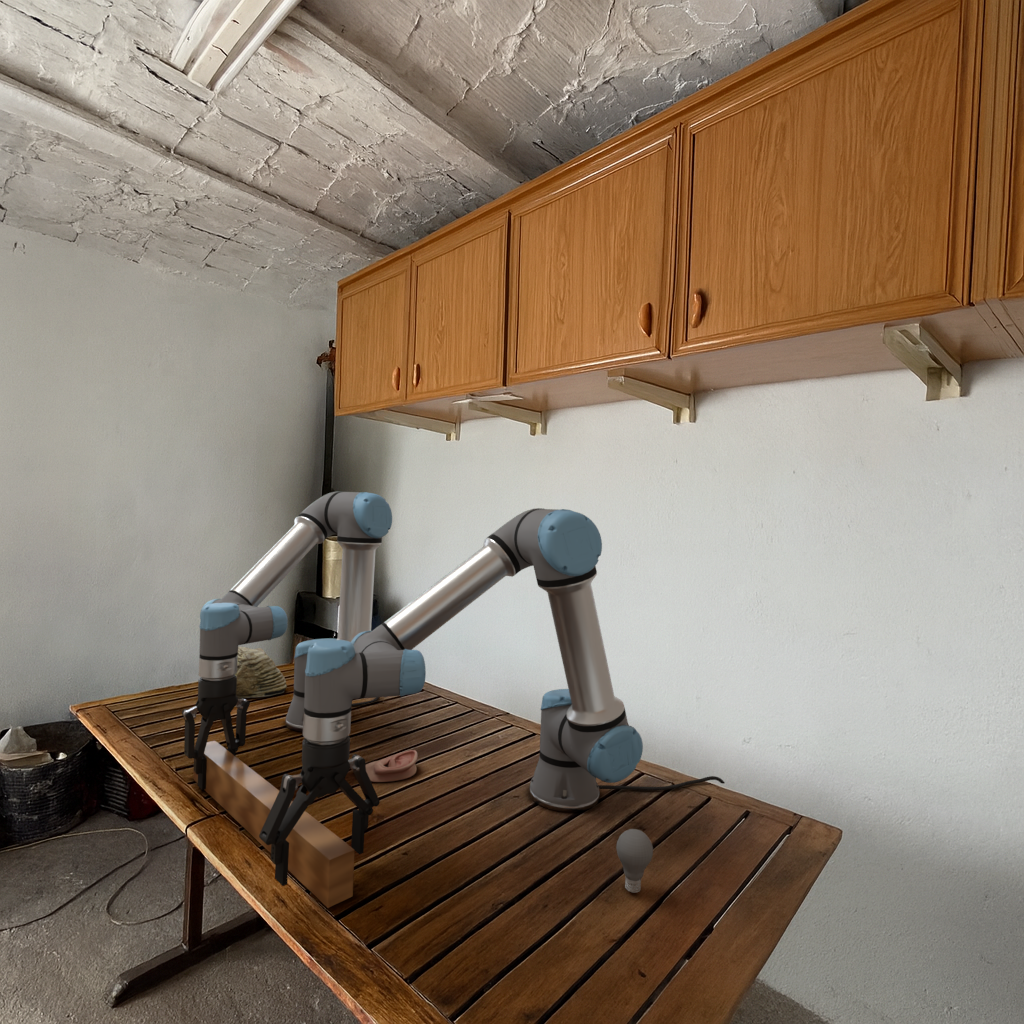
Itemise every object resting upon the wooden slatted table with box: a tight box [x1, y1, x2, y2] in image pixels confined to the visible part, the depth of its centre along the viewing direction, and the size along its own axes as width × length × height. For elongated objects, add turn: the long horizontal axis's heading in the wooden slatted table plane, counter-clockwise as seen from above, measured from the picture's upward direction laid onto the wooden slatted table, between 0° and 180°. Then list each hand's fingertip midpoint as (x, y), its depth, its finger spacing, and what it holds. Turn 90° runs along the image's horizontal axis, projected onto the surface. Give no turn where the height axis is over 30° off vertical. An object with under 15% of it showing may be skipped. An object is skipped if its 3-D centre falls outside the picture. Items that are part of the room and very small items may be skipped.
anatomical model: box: [365, 749, 419, 783], centre depth 147 cm, size 13×4×12 cm
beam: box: [192, 740, 356, 909], centre depth 120 cm, size 59×4×8 cm, turn 45°
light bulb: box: [615, 828, 654, 894], centre depth 106 cm, size 6×6×10 cm
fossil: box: [235, 646, 288, 699], centre depth 198 cm, size 9×18×15 cm, turn 132°
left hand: (214, 783), depth 136 cm, fingers closed on beam, 4 cm apart
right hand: (320, 865), depth 104 cm, fingers open, 13 cm apart
